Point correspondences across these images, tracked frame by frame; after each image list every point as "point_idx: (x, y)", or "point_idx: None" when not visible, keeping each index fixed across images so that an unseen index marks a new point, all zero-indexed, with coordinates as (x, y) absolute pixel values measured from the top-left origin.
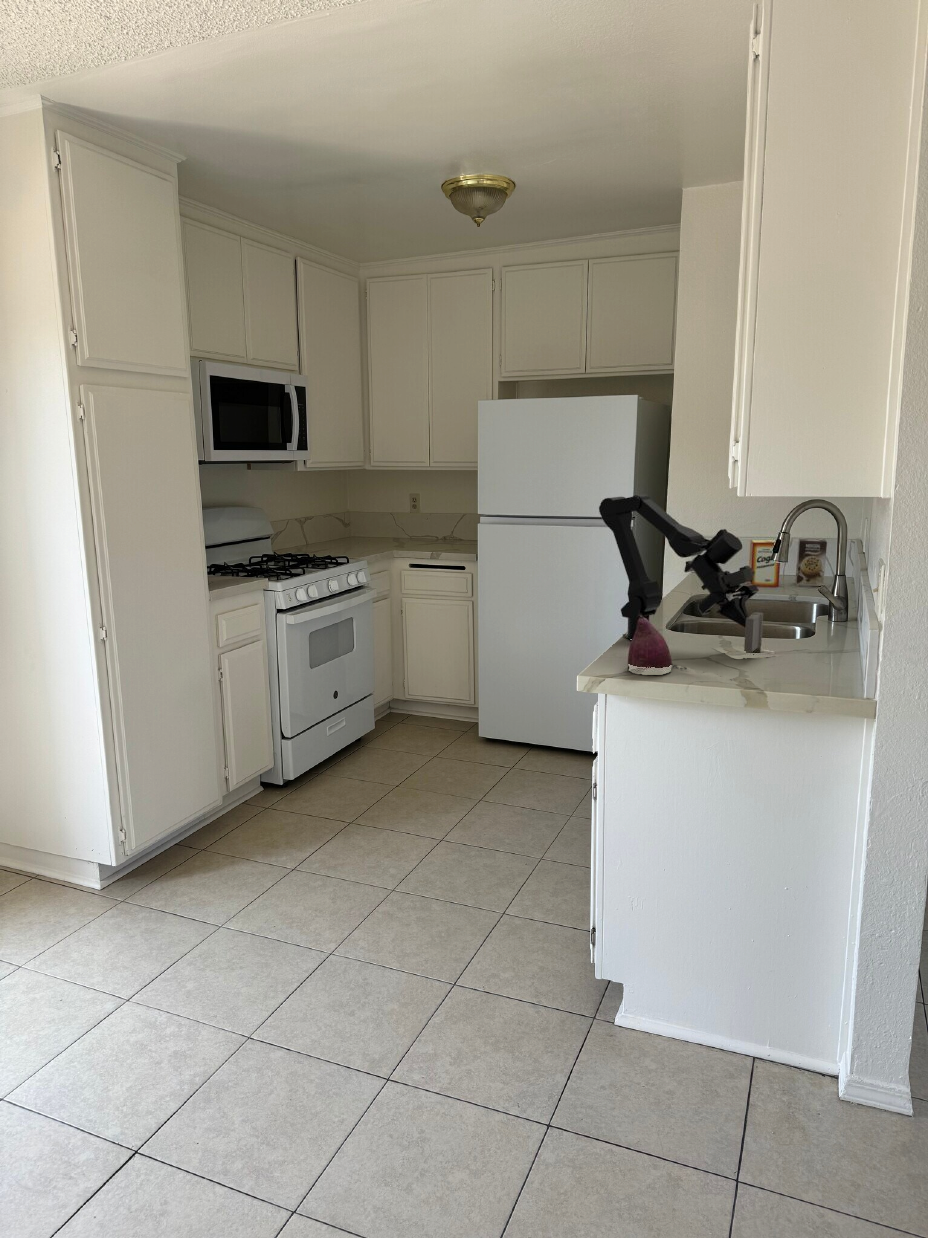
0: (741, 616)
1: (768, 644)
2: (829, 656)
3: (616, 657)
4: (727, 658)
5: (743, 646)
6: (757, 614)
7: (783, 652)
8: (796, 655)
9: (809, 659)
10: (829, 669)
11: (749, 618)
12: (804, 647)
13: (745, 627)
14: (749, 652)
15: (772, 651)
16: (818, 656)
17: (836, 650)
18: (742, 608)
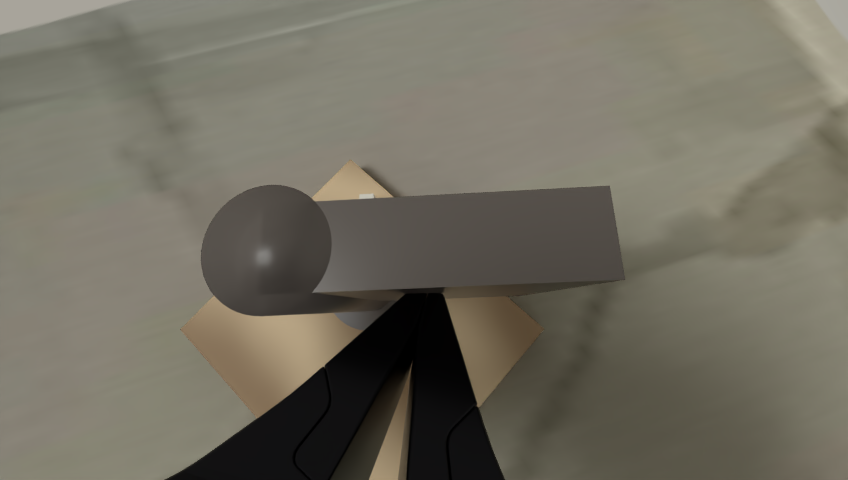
0: (467, 390)
1: (89, 312)
2: (204, 55)
3: None
4: None
5: (254, 383)
6: (314, 233)
7: (213, 212)
8: (241, 155)
9: (283, 99)
10: (393, 10)
11: (595, 242)
12: (93, 165)
13: (576, 286)
14: (386, 308)
15: (369, 197)
16: (221, 85)
17: (101, 58)
18: (344, 453)
